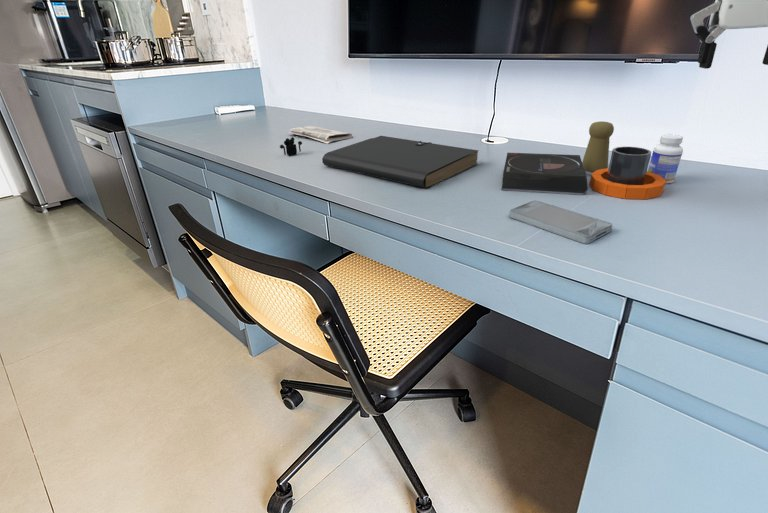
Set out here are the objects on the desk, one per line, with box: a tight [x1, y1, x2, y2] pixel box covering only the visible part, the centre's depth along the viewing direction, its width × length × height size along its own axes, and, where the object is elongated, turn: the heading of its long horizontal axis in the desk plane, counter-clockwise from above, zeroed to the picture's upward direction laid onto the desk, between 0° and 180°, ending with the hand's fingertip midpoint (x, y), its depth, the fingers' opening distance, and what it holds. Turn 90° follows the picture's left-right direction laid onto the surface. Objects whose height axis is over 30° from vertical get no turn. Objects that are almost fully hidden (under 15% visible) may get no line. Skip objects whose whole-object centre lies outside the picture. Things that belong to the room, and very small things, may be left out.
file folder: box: [322, 135, 479, 189], centre depth 113 cm, size 33×4×24 cm
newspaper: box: [287, 125, 353, 145], centre depth 150 cm, size 23×12×2 cm, turn 43°
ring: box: [588, 167, 666, 200], centre depth 92 cm, size 14×14×2 cm
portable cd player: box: [501, 152, 588, 196], centre depth 98 cm, size 16×17×4 cm
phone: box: [509, 200, 613, 245], centre depth 78 cm, size 8×16×1 cm, turn 37°
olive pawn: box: [582, 121, 615, 173], centre depth 103 cm, size 6×6×11 cm
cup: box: [606, 146, 652, 185], centre depth 91 cm, size 7×7×8 cm
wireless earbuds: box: [279, 136, 303, 157], centre depth 128 cm, size 7×2×5 cm, turn 126°
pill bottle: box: [647, 133, 684, 185], centre depth 94 cm, size 5×5×10 cm
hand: (736, 66), depth 75 cm, fingers open, 9 cm apart
